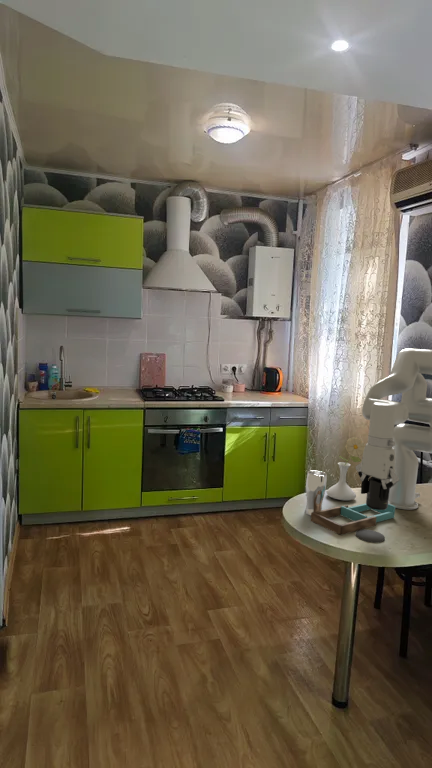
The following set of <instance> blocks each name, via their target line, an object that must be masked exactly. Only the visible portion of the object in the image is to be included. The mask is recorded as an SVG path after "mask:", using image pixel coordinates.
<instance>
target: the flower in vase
mask: <svg viewBox="0 0 432 768" xmlns="http://www.w3.org/2000/svg"><path fill="white" fill-rule="evenodd" d="M365 445H366V444H365V443H364V440H362V439H361V438H359V437H356V436H353V437H350V438H349V439H347V440H346V442H345V449H346V452H347V454H348V455H350V456H349V458H348V459H347V458H345V457H342V456H341V455H340V454H339V455H338V457H339V458H340V459H342V460H343V461H345V462H343V461H342V462H337V465H338V468H339V480H338V482H336V484H334V485H332V486H330V487H329V488H328V489H327V490H326V494H327V496H329V497H331V498H332V499H334V500H339V501H352V500H354V499H355V498H356V497H357V493H355V491H354V490H353V488H352V487H351V486H349V484H348V483H347V480H346V479H347V472H348V470H349V468H350V467H351V464H350V463H349V461H350V459H351V461H352V462H353V463H361V462H362V458H360V457H361V456H363V452H364V448H365ZM359 456H360V457H359Z"/></svg>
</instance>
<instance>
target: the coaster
mask: <svg viewBox="0 0 432 768" xmlns="http://www.w3.org/2000/svg"><path fill="white" fill-rule="evenodd" d="M355 537H357V538H358V539H360V540H362V541H365V542H367V543H374V544H375V543H377V544H378V543H383V542H384V541H385V539H386V537H385V535H384V534H383V533H381V532H378V531H376V530H372V529H367V528H365V529H361V530H357V531H355Z"/></svg>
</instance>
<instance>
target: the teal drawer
mask: <svg viewBox="0 0 432 768" xmlns="http://www.w3.org/2000/svg"><path fill="white" fill-rule="evenodd" d="M340 506H341V514H340V516H342V517H344V518H346V519H349V520H351V521H352V522H353V521H357V520H361V519H365V518H369V517H373V516H375V517H376V523H379V522H382V521H386V520H390V519H395V513H396V508H395V506H393V505H391V504H388V508H387V509H385V510H377V509H372V508H370V507H368V506H367V505H366V502H365V503H362V504H357V505H353V506H348V508H346V507H344V506H343V505H340ZM370 510H372V511H373V512H374V511H375V512H377V513H378V514H375V515H371V516H370V515H369V516H367V515H365V514H363V513H361V512H364V511H370Z"/></svg>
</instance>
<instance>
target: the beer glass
mask: <svg viewBox="0 0 432 768" xmlns="http://www.w3.org/2000/svg"><path fill="white" fill-rule="evenodd" d="M306 476H307V477H306V479H305V480H306V482H305V494H306V506H305V510H304V514H305V515H306V516H309V517H311V513H312V512H316V511H321V510H323V506H322V505H323V500H324V497H325V495H326V491H327V490H326V489H327V473H326V472H324V471H321V470H315V469H313V470H308V471H307V474H306Z"/></svg>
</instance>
